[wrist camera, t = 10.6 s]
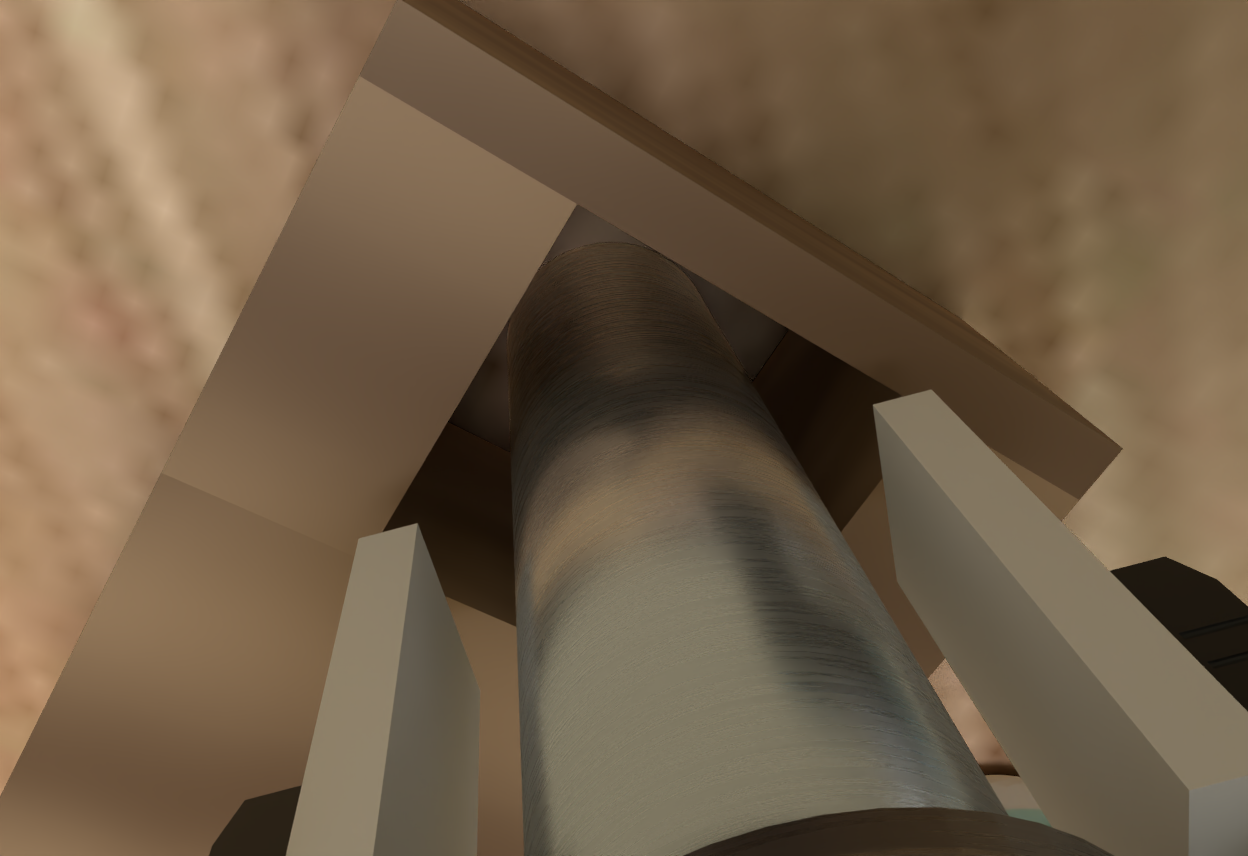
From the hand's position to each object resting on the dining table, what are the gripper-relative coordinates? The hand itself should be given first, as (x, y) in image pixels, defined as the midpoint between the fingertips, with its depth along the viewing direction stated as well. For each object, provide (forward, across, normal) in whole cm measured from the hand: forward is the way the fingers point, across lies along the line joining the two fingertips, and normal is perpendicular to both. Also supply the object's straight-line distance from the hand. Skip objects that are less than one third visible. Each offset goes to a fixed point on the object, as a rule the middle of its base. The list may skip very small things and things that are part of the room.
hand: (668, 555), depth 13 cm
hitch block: (+8, +3, +3) cm, 9 cm away
